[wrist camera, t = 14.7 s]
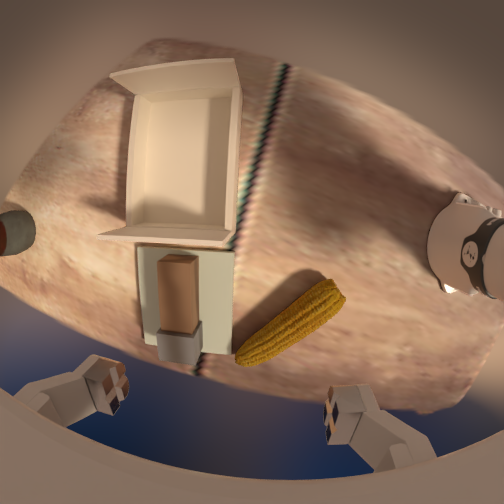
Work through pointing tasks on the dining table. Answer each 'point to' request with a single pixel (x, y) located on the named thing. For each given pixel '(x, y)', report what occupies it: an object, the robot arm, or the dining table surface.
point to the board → (210, 294)
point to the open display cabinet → (182, 153)
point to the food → (292, 324)
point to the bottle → (16, 232)
